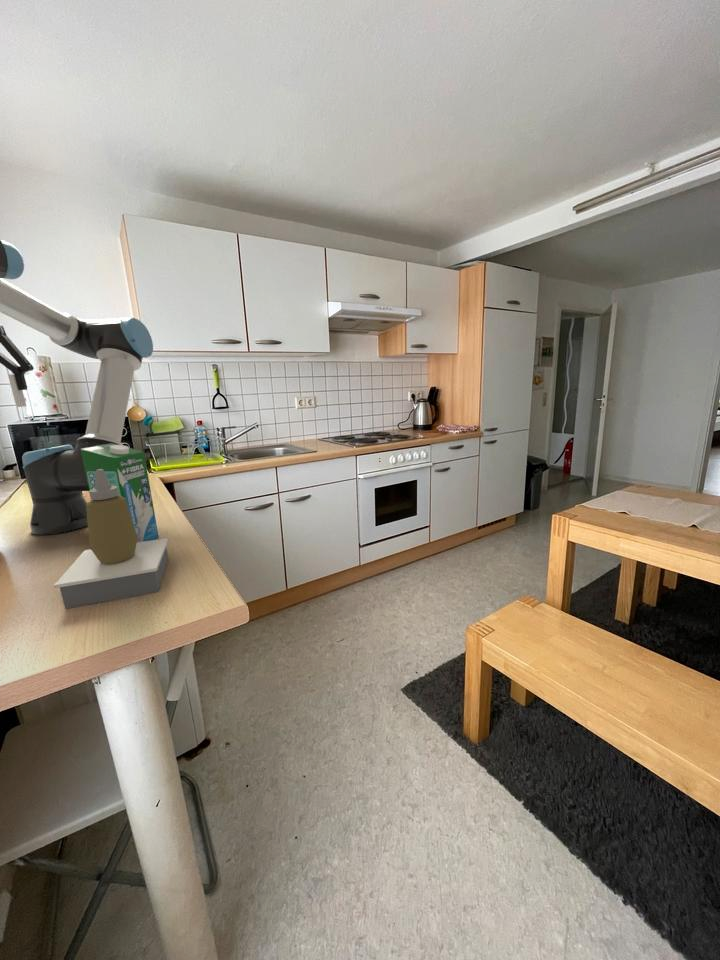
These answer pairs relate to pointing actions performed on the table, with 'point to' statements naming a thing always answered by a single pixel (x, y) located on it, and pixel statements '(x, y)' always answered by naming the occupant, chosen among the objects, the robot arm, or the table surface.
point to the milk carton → (125, 482)
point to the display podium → (114, 575)
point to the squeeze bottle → (109, 523)
